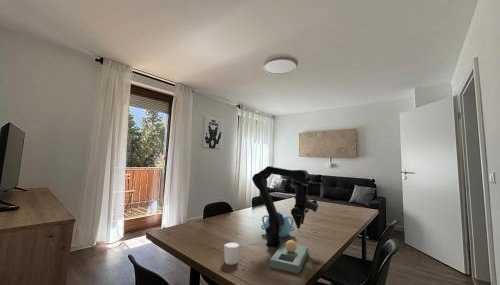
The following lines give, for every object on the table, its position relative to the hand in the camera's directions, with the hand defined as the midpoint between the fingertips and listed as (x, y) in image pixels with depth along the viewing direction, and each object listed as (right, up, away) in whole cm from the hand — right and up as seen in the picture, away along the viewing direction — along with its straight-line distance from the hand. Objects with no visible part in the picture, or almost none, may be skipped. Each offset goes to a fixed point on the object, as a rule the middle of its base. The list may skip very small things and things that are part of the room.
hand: (300, 226), depth 107 cm
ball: (-7, -5, -10) cm, 13 cm away
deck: (-7, -11, -11) cm, 17 cm away
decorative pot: (-8, -15, +23) cm, 29 cm away
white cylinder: (-33, -10, -15) cm, 38 cm away
